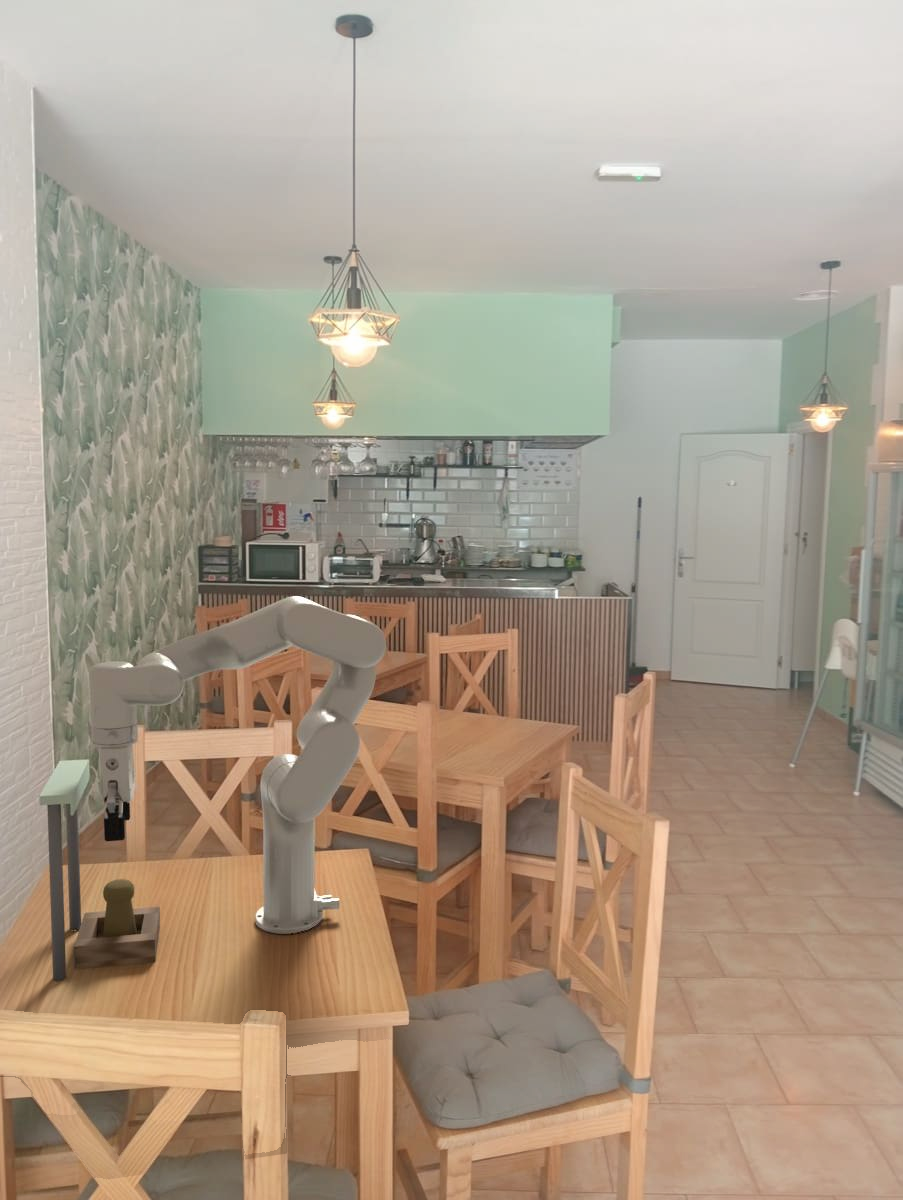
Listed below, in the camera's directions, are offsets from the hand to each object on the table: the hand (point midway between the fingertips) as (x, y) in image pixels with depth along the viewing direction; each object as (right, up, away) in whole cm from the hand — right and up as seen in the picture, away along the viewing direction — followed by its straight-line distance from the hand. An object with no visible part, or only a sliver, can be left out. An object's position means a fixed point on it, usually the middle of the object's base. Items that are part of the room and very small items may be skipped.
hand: (117, 829), depth 165 cm
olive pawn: (0, -21, +2) cm, 21 cm away
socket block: (-1, -21, +2) cm, 22 cm away
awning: (-8, -21, +1) cm, 23 cm away
